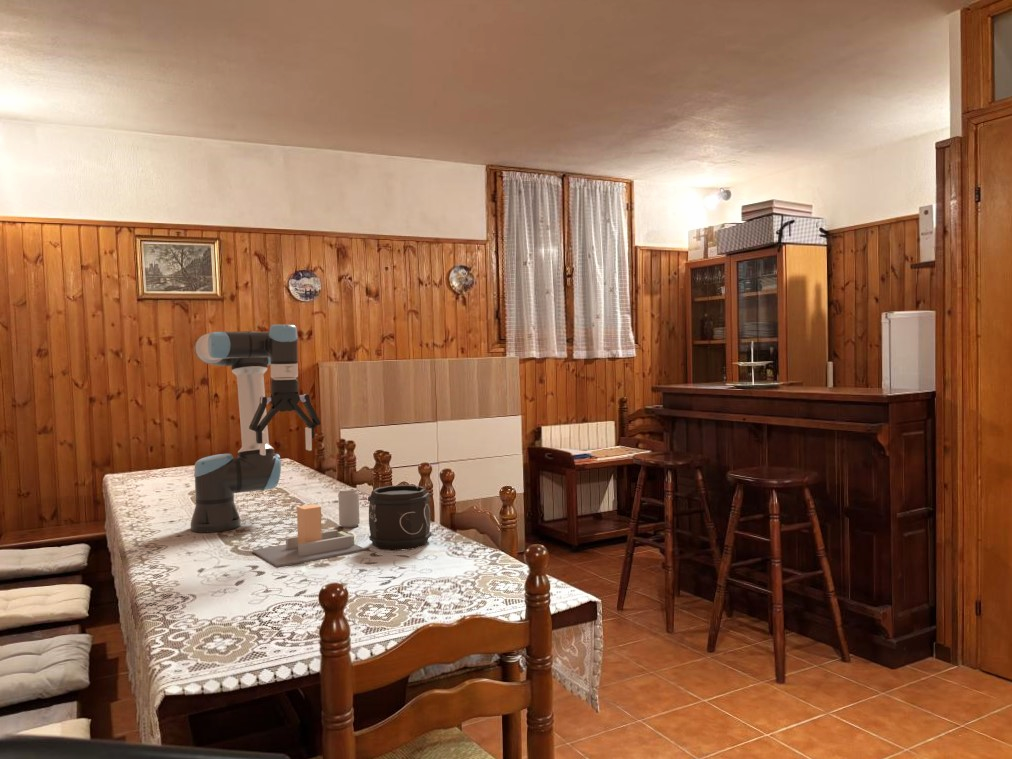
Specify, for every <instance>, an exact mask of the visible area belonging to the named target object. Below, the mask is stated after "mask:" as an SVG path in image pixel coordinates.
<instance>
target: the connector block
mask: <svg viewBox="0 0 1012 759" xmlns="http://www.w3.org/2000/svg"><path fill="white" fill-rule="evenodd" d="M296 516H297V517H296V519H297V520H296V521H297V536H298V544H302V543H307V542H313V541H319V540H322V532H323V531H322V530H323V529H322V507H321V506H320V505H318V504H314V503H313V504H306V505H298V506H296Z"/></svg>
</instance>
